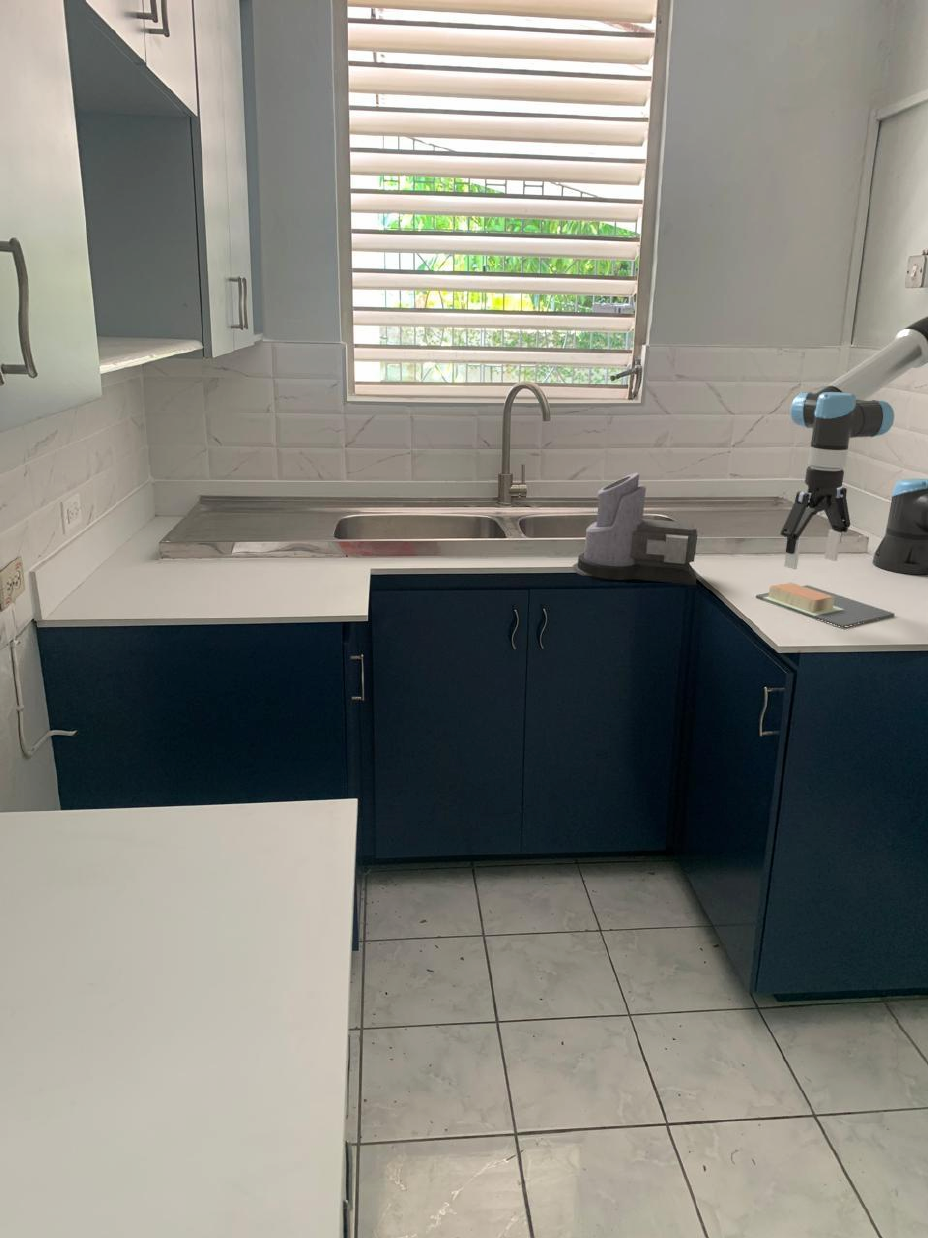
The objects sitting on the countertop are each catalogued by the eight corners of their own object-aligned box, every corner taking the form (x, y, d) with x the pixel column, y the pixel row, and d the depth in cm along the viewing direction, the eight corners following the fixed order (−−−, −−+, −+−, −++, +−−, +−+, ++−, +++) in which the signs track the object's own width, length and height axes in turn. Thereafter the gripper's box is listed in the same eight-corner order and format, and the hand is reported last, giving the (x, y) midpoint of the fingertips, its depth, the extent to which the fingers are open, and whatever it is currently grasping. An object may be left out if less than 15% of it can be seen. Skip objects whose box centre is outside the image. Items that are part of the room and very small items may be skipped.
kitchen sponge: (790, 582, 214) (835, 596, 205) (789, 593, 215) (832, 608, 206) (770, 586, 211) (814, 601, 201) (768, 597, 212) (812, 612, 202)
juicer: (569, 575, 224) (577, 474, 216) (575, 558, 239) (583, 463, 231) (696, 588, 219) (710, 484, 211) (695, 569, 234) (707, 472, 226)
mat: (807, 587, 222) (807, 585, 222) (894, 616, 204) (894, 613, 204) (755, 597, 213) (756, 595, 213) (842, 628, 195) (842, 625, 195)
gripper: (847, 460, 208) (832, 552, 215) (772, 469, 195) (758, 566, 202) (877, 465, 202) (861, 560, 209) (801, 475, 189) (787, 575, 196)
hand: (810, 563), depth 205 cm, fingers open, 13 cm apart
